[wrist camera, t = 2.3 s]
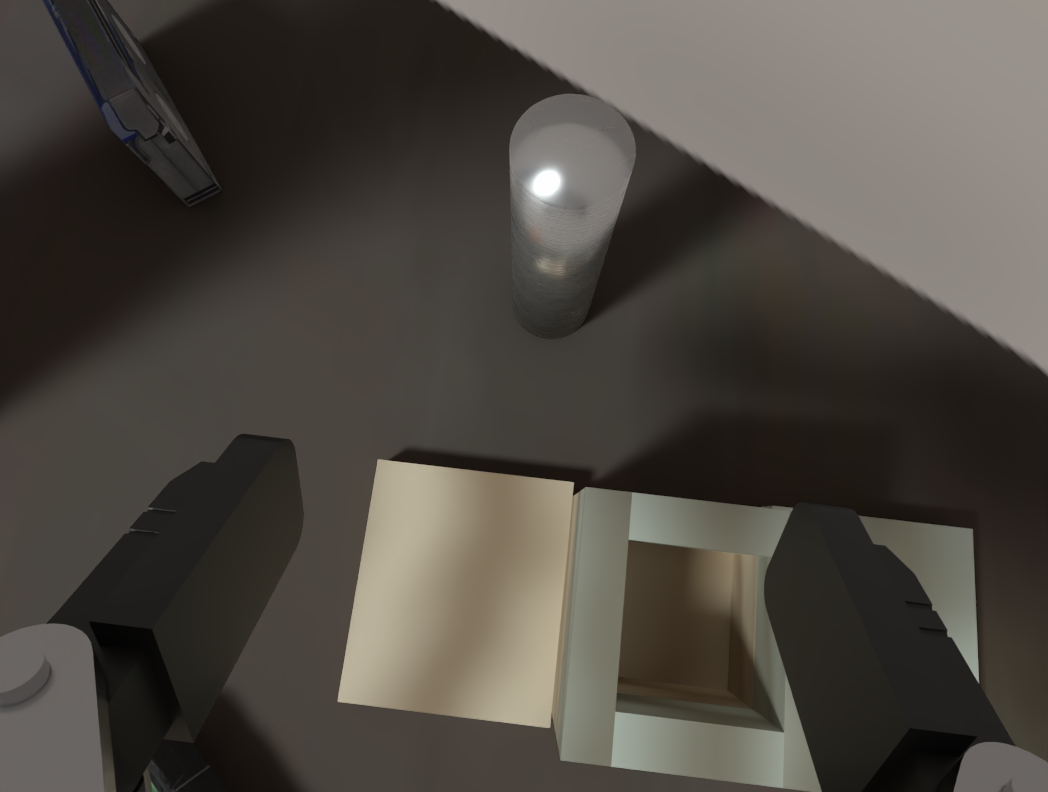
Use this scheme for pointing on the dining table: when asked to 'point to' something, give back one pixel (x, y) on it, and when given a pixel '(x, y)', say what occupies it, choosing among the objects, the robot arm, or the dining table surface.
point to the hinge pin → (564, 206)
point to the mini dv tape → (132, 96)
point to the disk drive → (182, 770)
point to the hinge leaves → (601, 618)
